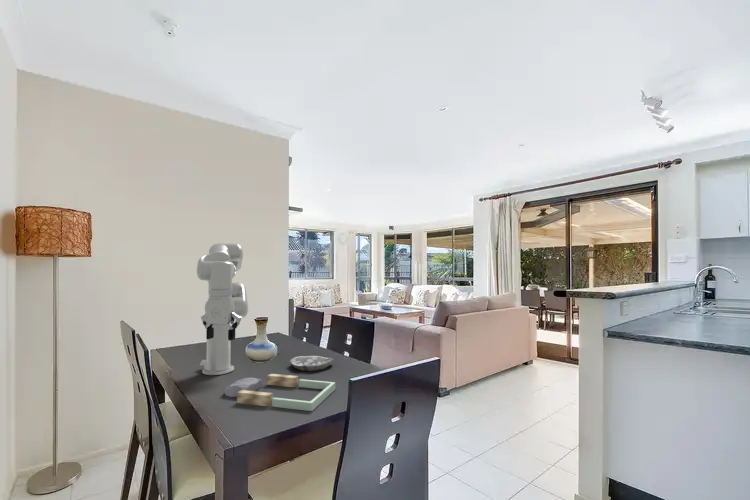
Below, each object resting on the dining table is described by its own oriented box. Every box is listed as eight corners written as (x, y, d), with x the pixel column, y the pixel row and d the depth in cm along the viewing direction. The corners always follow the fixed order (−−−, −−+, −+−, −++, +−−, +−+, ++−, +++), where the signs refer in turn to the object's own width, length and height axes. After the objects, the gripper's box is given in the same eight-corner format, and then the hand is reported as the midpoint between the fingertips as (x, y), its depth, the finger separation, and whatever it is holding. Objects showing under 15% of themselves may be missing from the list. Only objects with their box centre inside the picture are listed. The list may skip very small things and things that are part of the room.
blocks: (237, 402, 121) (237, 392, 121) (270, 382, 141) (270, 373, 141) (268, 406, 118) (268, 395, 118) (298, 385, 138) (298, 376, 138)
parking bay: (272, 406, 118) (272, 398, 118) (300, 385, 137) (300, 379, 137) (312, 411, 114) (312, 403, 114) (335, 389, 133) (335, 382, 133)
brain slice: (282, 372, 155) (282, 365, 155) (297, 361, 172) (297, 355, 172) (325, 374, 152) (325, 367, 152) (336, 363, 169) (337, 356, 169)
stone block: (222, 401, 127) (247, 397, 125) (220, 387, 128) (245, 383, 126) (241, 391, 139) (264, 387, 137) (239, 378, 139) (262, 374, 137)
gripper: (195, 294, 136) (194, 340, 135) (234, 294, 131) (233, 342, 130) (209, 293, 143) (208, 336, 142) (246, 293, 139) (246, 338, 138)
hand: (220, 339), depth 136 cm, fingers open, 9 cm apart
